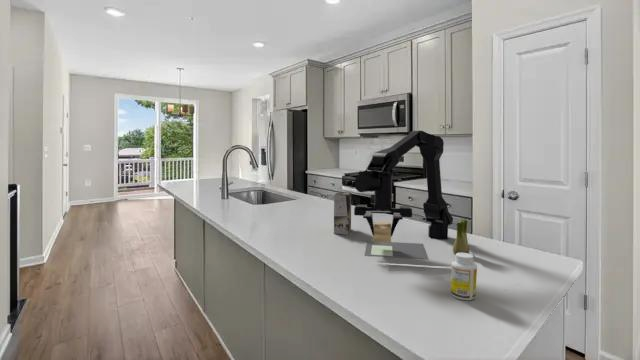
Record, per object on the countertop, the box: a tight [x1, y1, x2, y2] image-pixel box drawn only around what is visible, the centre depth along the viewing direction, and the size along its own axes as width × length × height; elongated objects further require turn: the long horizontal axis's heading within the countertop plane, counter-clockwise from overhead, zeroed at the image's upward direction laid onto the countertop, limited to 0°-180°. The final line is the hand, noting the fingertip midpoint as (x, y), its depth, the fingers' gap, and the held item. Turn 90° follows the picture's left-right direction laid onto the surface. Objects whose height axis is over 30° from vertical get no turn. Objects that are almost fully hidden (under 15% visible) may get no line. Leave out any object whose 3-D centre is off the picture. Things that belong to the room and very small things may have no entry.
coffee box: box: [333, 191, 352, 235], centre depth 147 cm, size 9×6×16 cm
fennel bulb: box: [452, 219, 470, 256], centre depth 115 cm, size 6×5×12 cm
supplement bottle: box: [450, 252, 478, 301], centre depth 84 cm, size 6×6×10 cm
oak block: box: [373, 221, 392, 243], centre depth 118 cm, size 9×6×4 cm, turn 169°
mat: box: [363, 240, 429, 260], centre depth 121 cm, size 20×18×1 cm
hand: (382, 235), depth 118 cm, fingers closed on oak block, 5 cm apart
